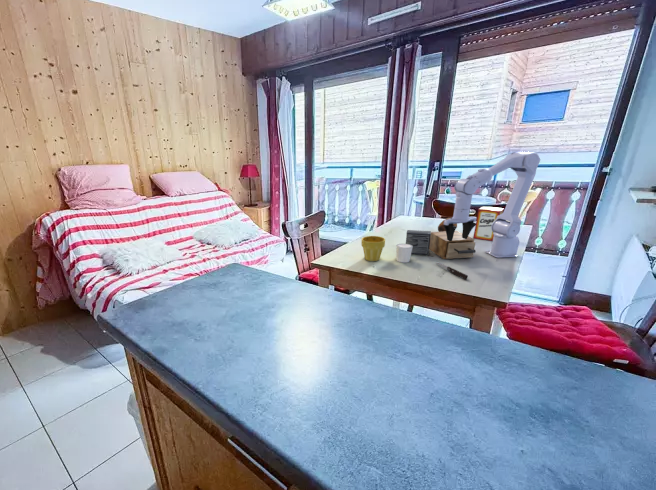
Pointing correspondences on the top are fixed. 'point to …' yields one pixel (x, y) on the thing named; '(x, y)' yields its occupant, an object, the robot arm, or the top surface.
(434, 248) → the cabinet
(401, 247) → the white tapered cylinder
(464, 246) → the drawer
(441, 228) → the potato
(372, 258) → the flower pot
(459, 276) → the kitchen knife
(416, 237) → the small box
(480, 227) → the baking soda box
